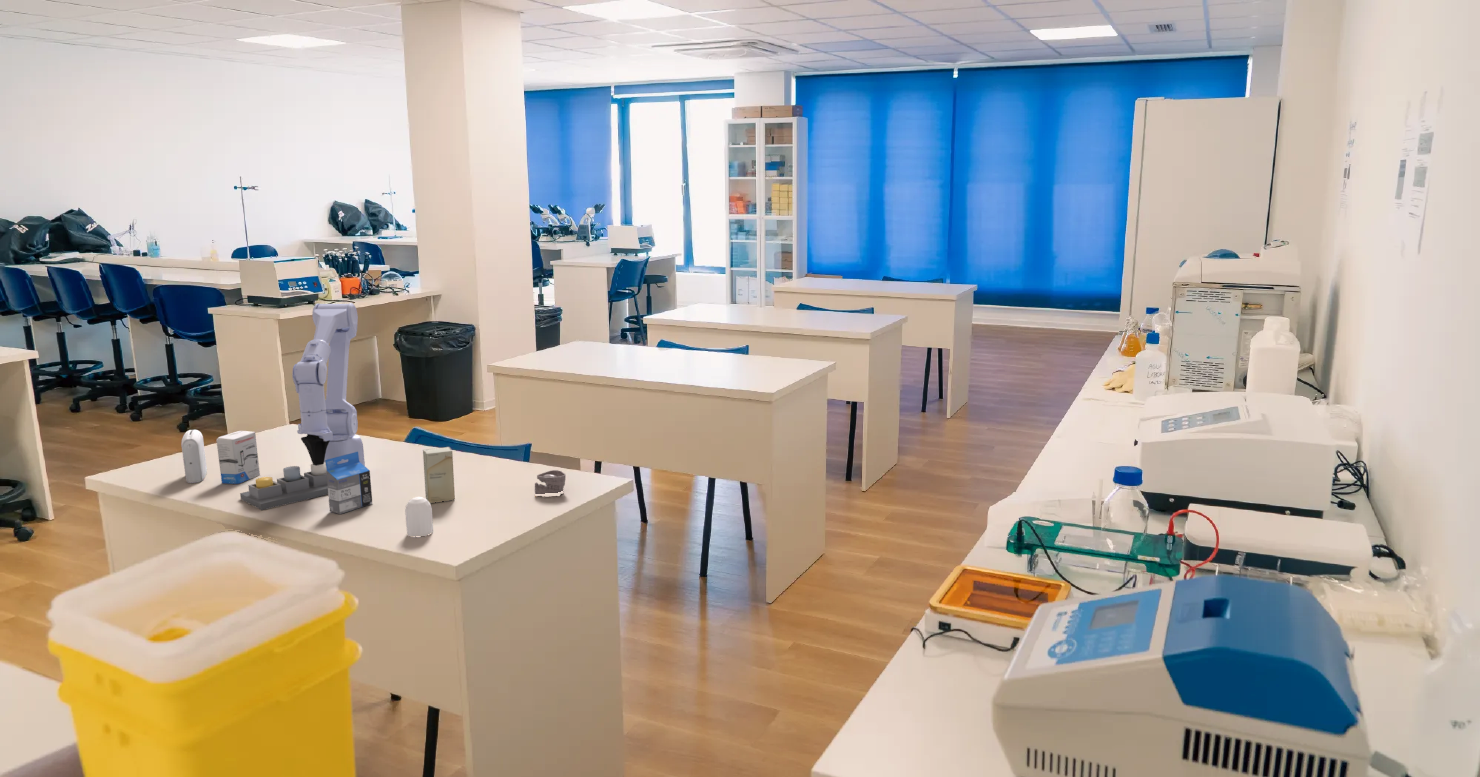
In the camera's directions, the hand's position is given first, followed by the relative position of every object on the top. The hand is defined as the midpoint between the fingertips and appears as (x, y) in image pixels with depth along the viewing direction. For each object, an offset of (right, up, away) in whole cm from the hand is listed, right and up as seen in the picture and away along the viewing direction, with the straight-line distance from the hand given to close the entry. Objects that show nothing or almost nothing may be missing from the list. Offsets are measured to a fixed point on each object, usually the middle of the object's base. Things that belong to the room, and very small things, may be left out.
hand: (318, 464), depth 233 cm
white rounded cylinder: (+35, -13, -30) cm, 47 cm away
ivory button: (0, -3, +1) cm, 3 cm away
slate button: (-4, -3, -4) cm, 7 cm away
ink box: (-24, -5, +9) cm, 26 cm away
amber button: (-9, -5, -9) cm, 13 cm away
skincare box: (+32, -8, -8) cm, 34 cm away
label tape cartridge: (+13, -9, -13) cm, 21 cm away
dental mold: (+58, -7, -4) cm, 58 cm away
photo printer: (-36, -4, +11) cm, 38 cm away
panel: (-4, -7, -3) cm, 9 cm away
